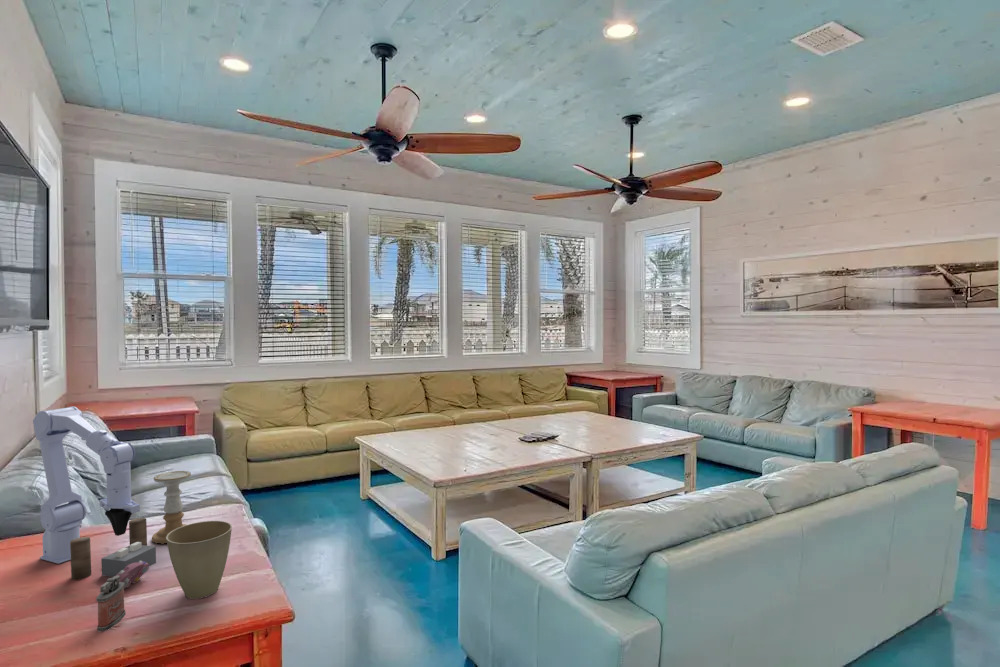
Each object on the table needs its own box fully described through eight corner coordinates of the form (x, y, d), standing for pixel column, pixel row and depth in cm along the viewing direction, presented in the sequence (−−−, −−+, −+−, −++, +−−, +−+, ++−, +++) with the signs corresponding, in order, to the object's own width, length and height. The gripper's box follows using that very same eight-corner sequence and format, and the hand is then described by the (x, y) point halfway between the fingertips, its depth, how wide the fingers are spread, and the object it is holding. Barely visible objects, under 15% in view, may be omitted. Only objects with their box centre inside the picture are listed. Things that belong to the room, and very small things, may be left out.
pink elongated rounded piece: (115, 600, 145) (125, 577, 145) (101, 591, 146) (111, 568, 145) (146, 582, 155) (155, 560, 154) (132, 574, 156) (142, 552, 155)
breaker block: (101, 576, 156) (101, 552, 156) (133, 561, 166) (132, 538, 166) (125, 579, 154) (124, 555, 154) (156, 563, 164) (155, 541, 164)
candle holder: (182, 544, 177) (180, 480, 176) (142, 544, 177) (141, 480, 177) (203, 529, 189) (201, 469, 189) (166, 529, 190) (164, 469, 189)
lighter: (114, 613, 136) (113, 571, 136) (129, 612, 136) (128, 571, 136) (93, 631, 128) (91, 588, 128) (109, 631, 128) (107, 587, 128)
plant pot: (172, 585, 150) (170, 525, 149) (234, 575, 156) (232, 517, 155) (163, 612, 136) (161, 546, 136) (232, 599, 142) (230, 536, 141)
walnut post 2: (126, 555, 169) (125, 522, 169) (140, 549, 174) (140, 517, 173) (136, 557, 168) (135, 524, 167) (150, 551, 172) (149, 519, 171)
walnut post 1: (67, 578, 155) (66, 541, 155) (84, 571, 159) (83, 535, 159) (77, 580, 153) (76, 544, 153) (94, 574, 157) (93, 538, 157)
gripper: (87, 487, 160) (89, 535, 160) (121, 493, 154) (122, 543, 155) (113, 481, 167) (114, 526, 167) (146, 486, 161) (147, 534, 161)
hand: (120, 534), depth 161 cm, fingers closed
